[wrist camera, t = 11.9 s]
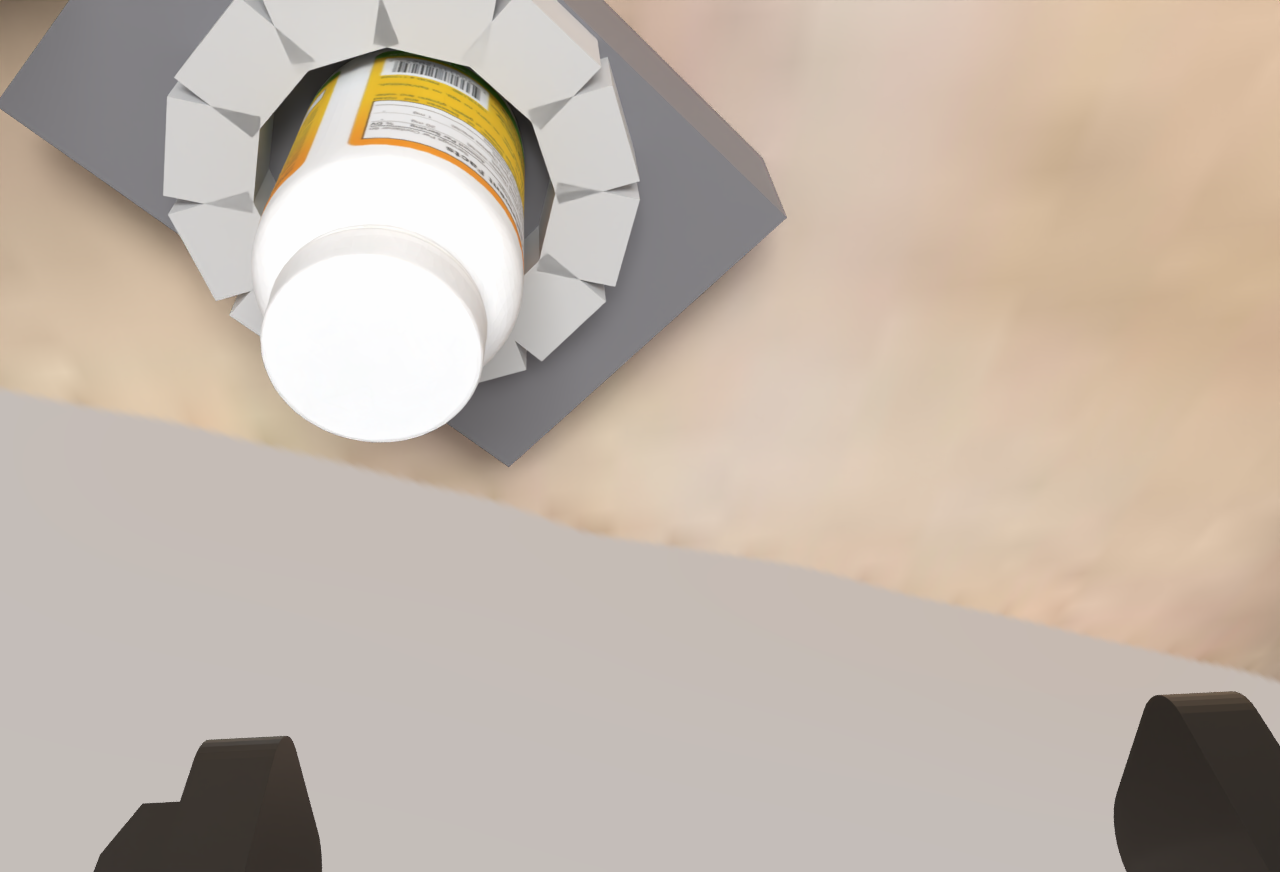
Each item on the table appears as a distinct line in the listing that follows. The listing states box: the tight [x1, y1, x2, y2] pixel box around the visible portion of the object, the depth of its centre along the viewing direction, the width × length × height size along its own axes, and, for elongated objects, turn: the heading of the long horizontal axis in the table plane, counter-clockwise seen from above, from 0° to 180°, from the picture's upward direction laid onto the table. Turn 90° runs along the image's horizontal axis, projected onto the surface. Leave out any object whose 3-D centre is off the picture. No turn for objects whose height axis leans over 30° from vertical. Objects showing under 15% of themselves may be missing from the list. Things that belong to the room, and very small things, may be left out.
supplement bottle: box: [251, 48, 525, 442], centre depth 25 cm, size 5×5×10 cm
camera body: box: [0, 0, 787, 467], centre depth 30 cm, size 16×11×6 cm
